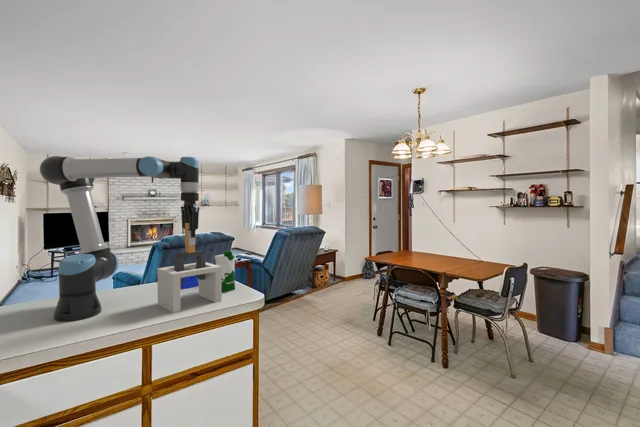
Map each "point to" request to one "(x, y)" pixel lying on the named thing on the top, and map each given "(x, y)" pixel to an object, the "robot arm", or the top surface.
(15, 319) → the top surface
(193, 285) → the bracket
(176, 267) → the wooden handle u-frame
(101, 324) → the top surface
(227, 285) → the milk carton
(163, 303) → the light grey open-top stand
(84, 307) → the robot arm
